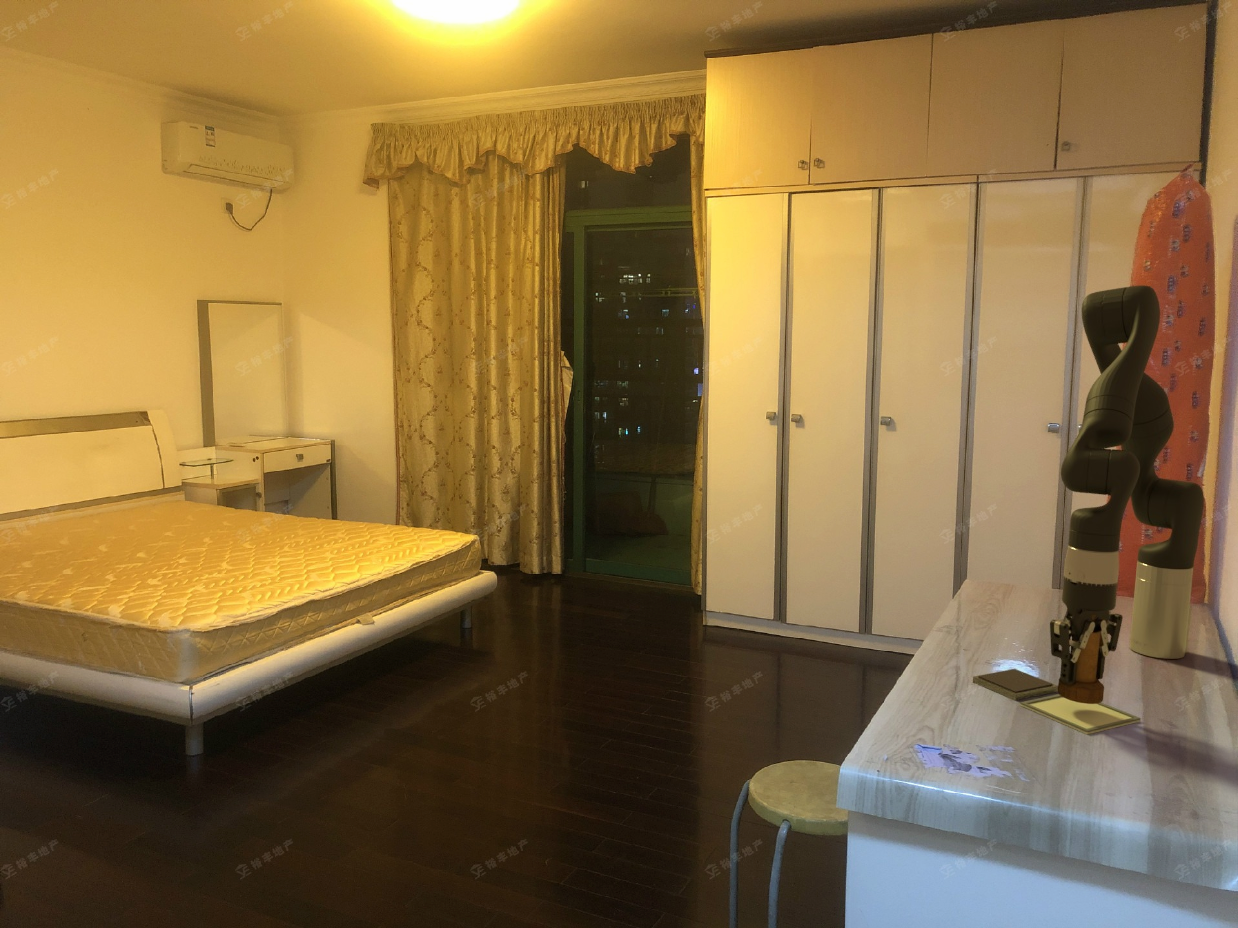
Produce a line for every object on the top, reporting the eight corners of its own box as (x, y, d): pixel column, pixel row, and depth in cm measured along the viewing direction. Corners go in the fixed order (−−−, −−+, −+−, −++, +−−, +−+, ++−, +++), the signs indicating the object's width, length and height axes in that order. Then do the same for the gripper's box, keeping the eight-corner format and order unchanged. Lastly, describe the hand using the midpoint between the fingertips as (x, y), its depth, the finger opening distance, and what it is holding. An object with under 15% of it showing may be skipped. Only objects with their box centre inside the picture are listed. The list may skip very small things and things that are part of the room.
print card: (1072, 694, 156) (1072, 691, 156) (1140, 721, 145) (1140, 717, 145) (1020, 705, 151) (1020, 702, 151) (1087, 734, 140) (1087, 730, 140)
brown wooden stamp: (1108, 706, 144) (1119, 592, 142) (1063, 702, 145) (1073, 589, 143) (1096, 690, 150) (1106, 581, 148) (1052, 686, 152) (1062, 578, 149)
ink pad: (1014, 673, 165) (1014, 667, 165) (1057, 691, 157) (1058, 684, 157) (972, 681, 161) (973, 675, 161) (1015, 700, 153) (1015, 693, 153)
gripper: (1100, 566, 152) (1091, 667, 154) (1037, 574, 146) (1029, 679, 148) (1143, 577, 145) (1133, 682, 147) (1080, 586, 139) (1070, 695, 141)
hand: (1081, 680), depth 148 cm, fingers closed on brown wooden stamp, 5 cm apart
